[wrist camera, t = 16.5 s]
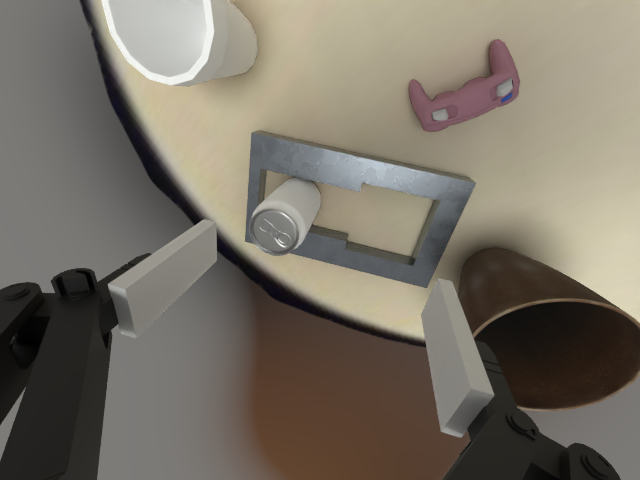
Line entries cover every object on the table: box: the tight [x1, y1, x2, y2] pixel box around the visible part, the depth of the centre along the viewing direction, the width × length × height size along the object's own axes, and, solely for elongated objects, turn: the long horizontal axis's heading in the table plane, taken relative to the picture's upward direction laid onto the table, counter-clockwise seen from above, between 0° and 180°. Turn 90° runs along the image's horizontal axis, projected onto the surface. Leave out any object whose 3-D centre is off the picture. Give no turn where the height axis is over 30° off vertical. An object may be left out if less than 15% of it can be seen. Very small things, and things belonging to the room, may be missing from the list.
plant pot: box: [458, 248, 640, 411], centre depth 33 cm, size 15×15×16 cm
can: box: [249, 177, 321, 256], centre depth 35 cm, size 6×6×12 cm
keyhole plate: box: [245, 131, 476, 288], centre depth 39 cm, size 28×16×2 cm, turn 79°
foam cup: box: [101, 0, 258, 87], centre depth 27 cm, size 10×9×13 cm
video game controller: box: [409, 39, 520, 132], centre depth 29 cm, size 10×5×7 cm, turn 114°
